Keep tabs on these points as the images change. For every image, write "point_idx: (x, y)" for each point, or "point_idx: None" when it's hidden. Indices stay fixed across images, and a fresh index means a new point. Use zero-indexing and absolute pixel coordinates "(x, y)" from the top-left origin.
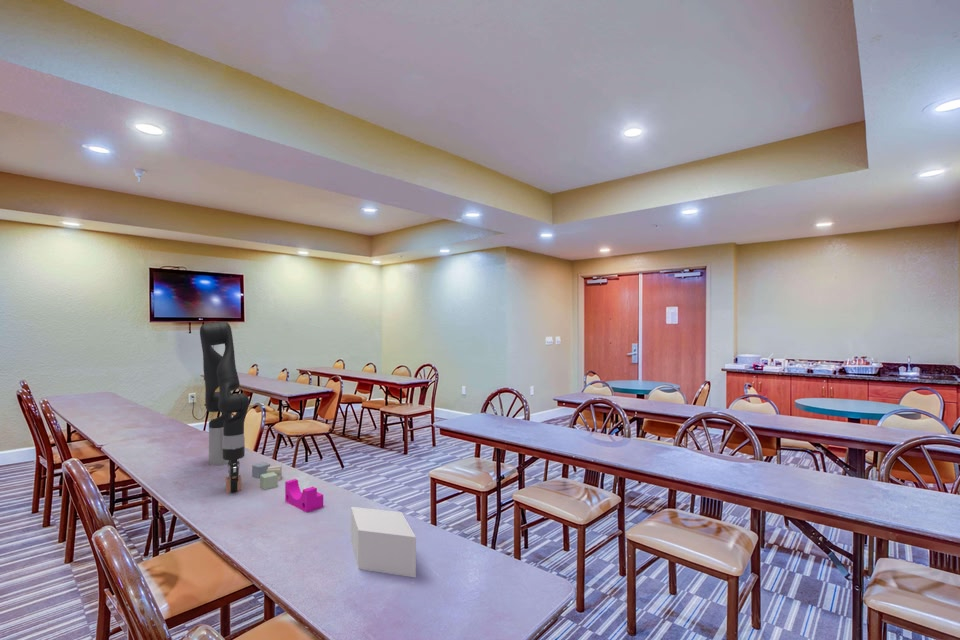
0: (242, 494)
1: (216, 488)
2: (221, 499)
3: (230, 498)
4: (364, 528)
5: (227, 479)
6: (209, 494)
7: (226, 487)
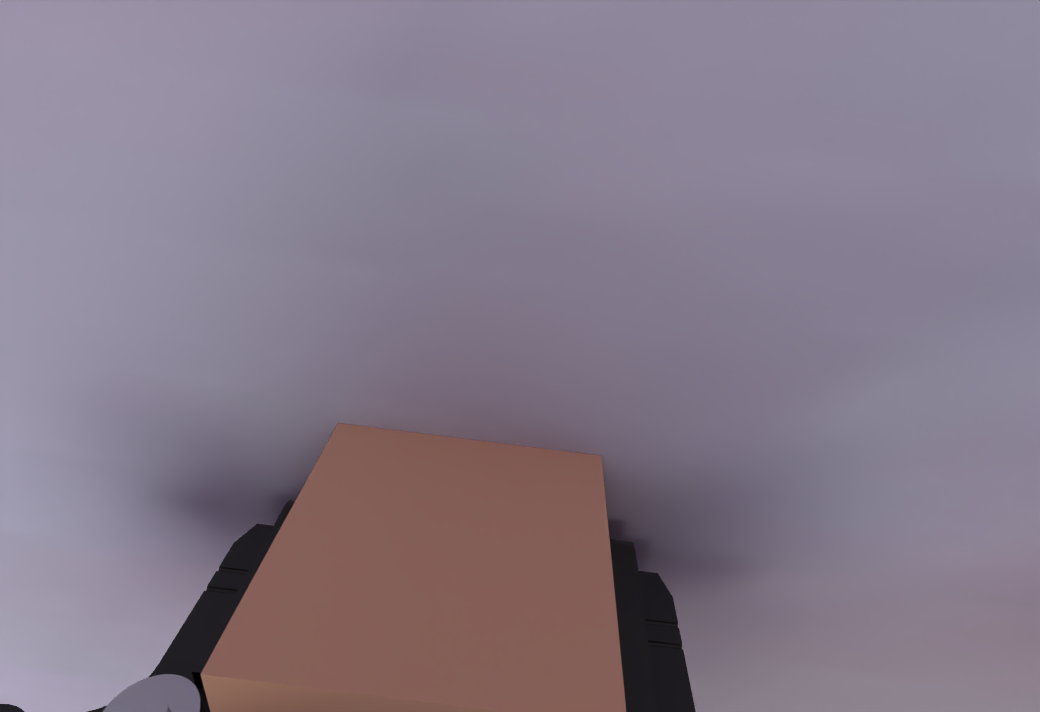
0: (168, 580)
1: (841, 338)
2: (23, 302)
3: (30, 429)
4: None
5: (322, 710)
6: (507, 140)
7: (290, 516)
